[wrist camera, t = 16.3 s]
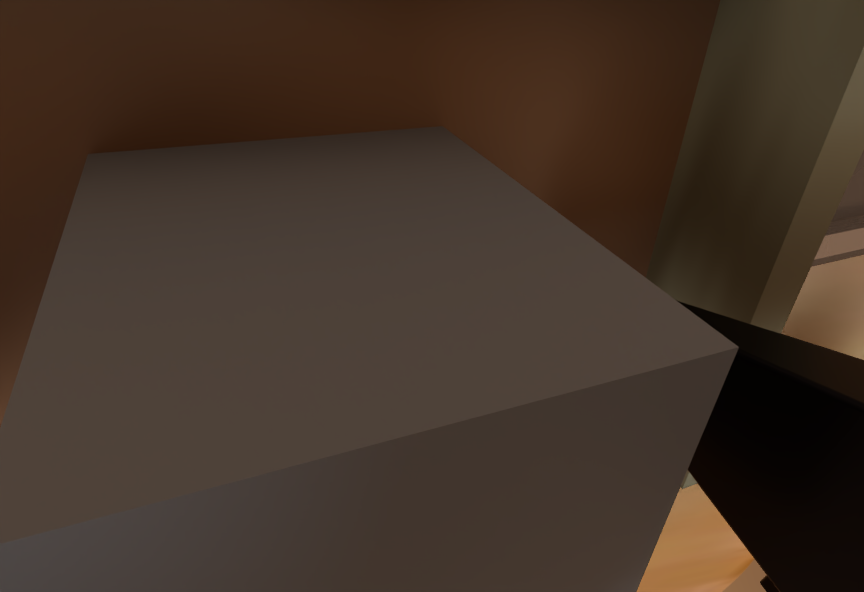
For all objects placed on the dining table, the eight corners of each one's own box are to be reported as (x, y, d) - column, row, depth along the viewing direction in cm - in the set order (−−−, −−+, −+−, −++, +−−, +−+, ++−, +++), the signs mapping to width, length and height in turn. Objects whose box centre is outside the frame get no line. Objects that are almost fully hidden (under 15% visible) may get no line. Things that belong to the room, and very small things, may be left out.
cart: (570, 329, 18) (716, 476, 13) (-31, 471, 13) (-144, 794, 8) (653, -91, 12) (975, -97, 7) (-419, -139, 7) (-1748, -270, 2)
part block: (431, 367, 12) (606, 662, 7) (170, 427, 10) (176, 862, 5) (442, 125, 9) (738, 347, 4) (87, 153, 7) (-41, 554, 3)
